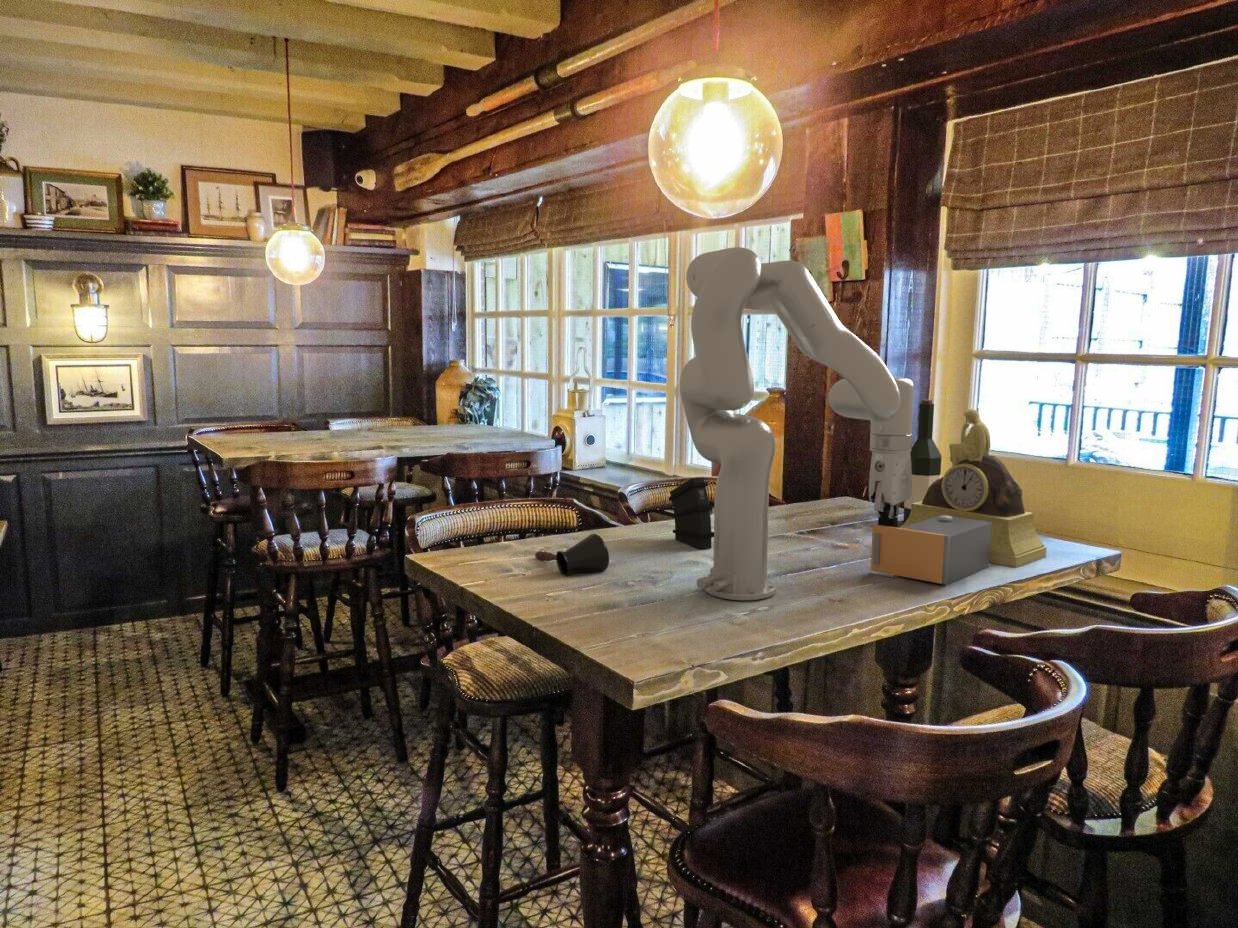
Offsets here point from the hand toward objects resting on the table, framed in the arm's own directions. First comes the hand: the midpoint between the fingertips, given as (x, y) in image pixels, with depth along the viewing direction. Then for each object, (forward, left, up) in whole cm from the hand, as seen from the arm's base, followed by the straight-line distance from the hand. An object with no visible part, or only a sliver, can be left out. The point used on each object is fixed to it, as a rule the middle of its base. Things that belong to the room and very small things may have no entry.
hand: (887, 537), depth 166 cm
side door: (-2, -6, -6) cm, 9 cm away
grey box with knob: (+10, -7, -7) cm, 14 cm away
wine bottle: (+44, +16, -7) cm, 47 cm away
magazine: (-10, +42, -7) cm, 43 cm away
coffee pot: (-42, +46, -7) cm, 62 cm away
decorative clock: (+29, -2, -7) cm, 30 cm away
